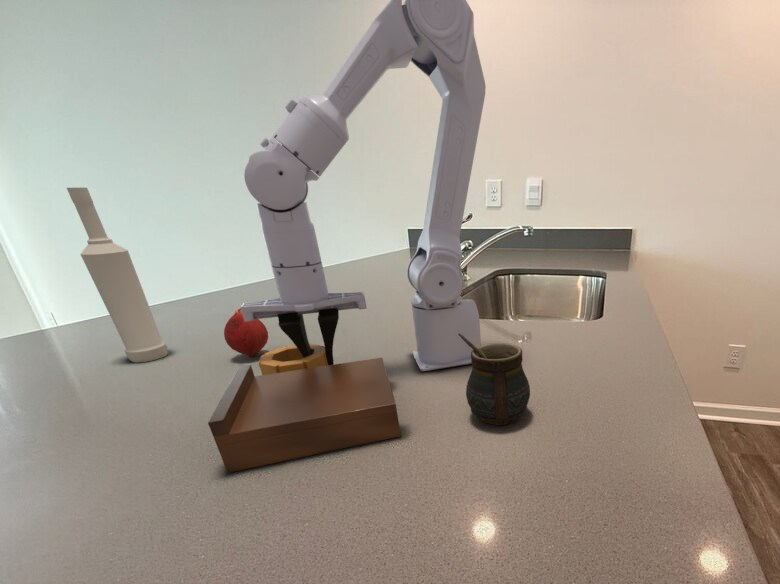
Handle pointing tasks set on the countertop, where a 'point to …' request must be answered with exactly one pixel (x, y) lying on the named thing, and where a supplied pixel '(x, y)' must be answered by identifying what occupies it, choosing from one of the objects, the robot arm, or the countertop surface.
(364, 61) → the robot arm
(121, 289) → the bottle
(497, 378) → the mate gourd
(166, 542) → the countertop surface
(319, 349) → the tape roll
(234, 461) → the shelf
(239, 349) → the red pomegranate
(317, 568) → the countertop surface
